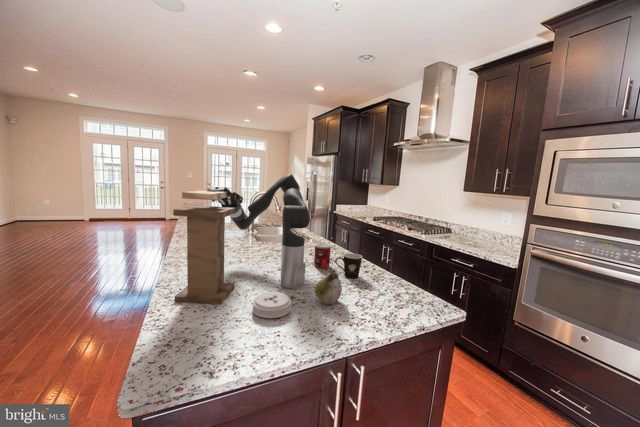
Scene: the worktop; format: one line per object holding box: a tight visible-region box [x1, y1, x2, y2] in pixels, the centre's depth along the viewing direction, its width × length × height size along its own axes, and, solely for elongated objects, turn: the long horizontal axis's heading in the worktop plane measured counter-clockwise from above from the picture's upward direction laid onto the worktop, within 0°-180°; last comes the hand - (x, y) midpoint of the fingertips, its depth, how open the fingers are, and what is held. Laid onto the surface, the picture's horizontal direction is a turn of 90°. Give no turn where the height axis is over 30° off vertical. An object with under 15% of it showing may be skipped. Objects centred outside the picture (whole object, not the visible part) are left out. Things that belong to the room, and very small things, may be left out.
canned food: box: [313, 243, 332, 269], centre depth 139 cm, size 8×8×11 cm
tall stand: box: [172, 205, 235, 305], centre depth 98 cm, size 14×16×32 cm
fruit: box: [314, 272, 343, 305], centre depth 99 cm, size 10×9×12 cm
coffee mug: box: [334, 252, 363, 280], centre depth 127 cm, size 12×9×10 cm
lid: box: [251, 291, 292, 319], centre depth 90 cm, size 13×13×5 cm
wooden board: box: [181, 188, 227, 201], centre depth 101 cm, size 26×10×2 cm, turn 0°
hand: (220, 189), depth 108 cm, fingers closed on wooden board, 3 cm apart
